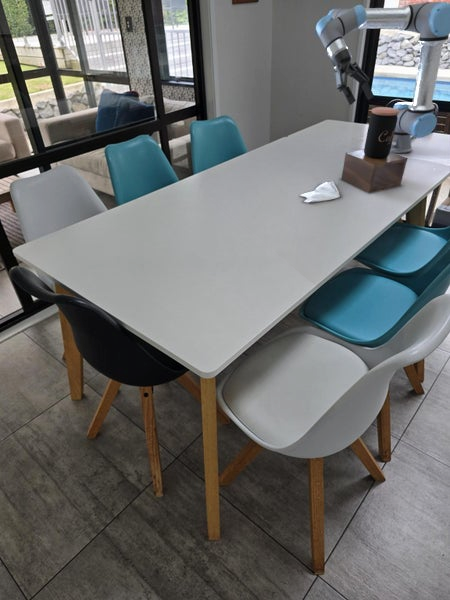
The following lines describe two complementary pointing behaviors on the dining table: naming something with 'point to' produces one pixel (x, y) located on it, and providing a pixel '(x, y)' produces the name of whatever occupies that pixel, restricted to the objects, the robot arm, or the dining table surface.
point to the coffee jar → (380, 132)
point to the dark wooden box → (373, 171)
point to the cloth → (322, 193)
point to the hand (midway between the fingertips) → (362, 100)
